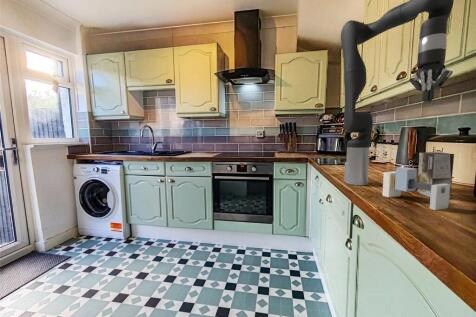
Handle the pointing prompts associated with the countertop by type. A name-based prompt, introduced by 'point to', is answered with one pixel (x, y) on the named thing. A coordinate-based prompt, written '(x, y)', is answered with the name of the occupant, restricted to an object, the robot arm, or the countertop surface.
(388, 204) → the countertop surface
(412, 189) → the notched grey block
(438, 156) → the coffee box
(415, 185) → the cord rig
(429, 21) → the robot arm
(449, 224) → the countertop surface
